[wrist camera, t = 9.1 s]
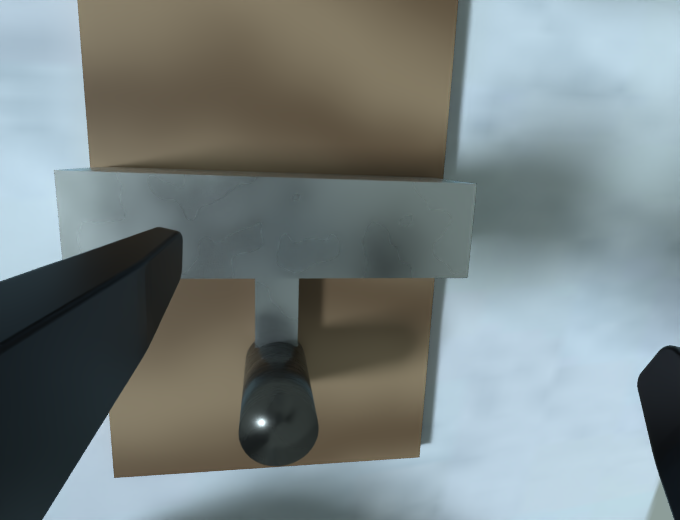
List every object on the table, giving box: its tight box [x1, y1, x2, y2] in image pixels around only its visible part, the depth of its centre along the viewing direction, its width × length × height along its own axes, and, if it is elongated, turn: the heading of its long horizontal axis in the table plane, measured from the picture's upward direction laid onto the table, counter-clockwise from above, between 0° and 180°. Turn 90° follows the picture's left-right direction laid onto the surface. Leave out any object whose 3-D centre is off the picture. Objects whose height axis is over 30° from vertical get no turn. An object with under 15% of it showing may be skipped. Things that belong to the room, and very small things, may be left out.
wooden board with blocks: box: [77, 0, 458, 478], centre depth 15 cm, size 28×13×5 cm, turn 178°
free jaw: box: [54, 167, 477, 466], centre depth 16 cm, size 9×12×5 cm
